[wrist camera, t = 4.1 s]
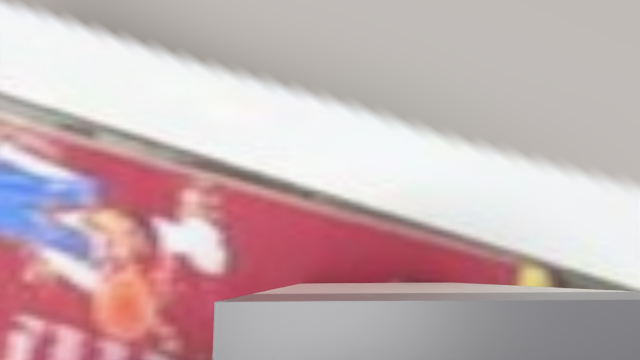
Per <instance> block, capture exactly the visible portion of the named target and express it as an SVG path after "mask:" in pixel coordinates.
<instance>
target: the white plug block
mask: <svg viewBox="0 0 640 360" xmlns="http://www.w3.org/2000/svg"><path fill="white" fill-rule="evenodd" d="M213 360H640V292H632V291H612V290H592V289H572V288H551V287H531V286H511V285H491V284H471V283H451V282H449V283H301V284H296V285H292V286H287V287H282V288H278V289H273V290H268V291H264V292H259V293H254V294H249V295H245V296H240V297H235V298H231V299H226V300H221V301H217V302H215V306H214V333H213Z"/></svg>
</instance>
